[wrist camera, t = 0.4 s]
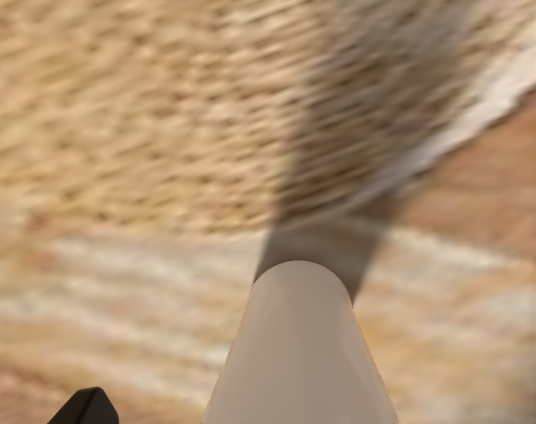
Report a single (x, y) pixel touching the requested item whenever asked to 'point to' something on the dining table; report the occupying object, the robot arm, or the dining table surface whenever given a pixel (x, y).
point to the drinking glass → (299, 356)
